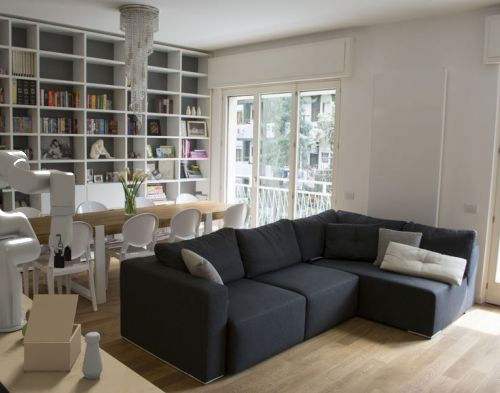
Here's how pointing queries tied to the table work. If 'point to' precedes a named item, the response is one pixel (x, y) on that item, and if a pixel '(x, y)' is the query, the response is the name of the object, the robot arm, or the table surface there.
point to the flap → (51, 318)
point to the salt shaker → (92, 356)
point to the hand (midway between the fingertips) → (62, 264)
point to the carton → (53, 354)
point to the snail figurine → (27, 321)
